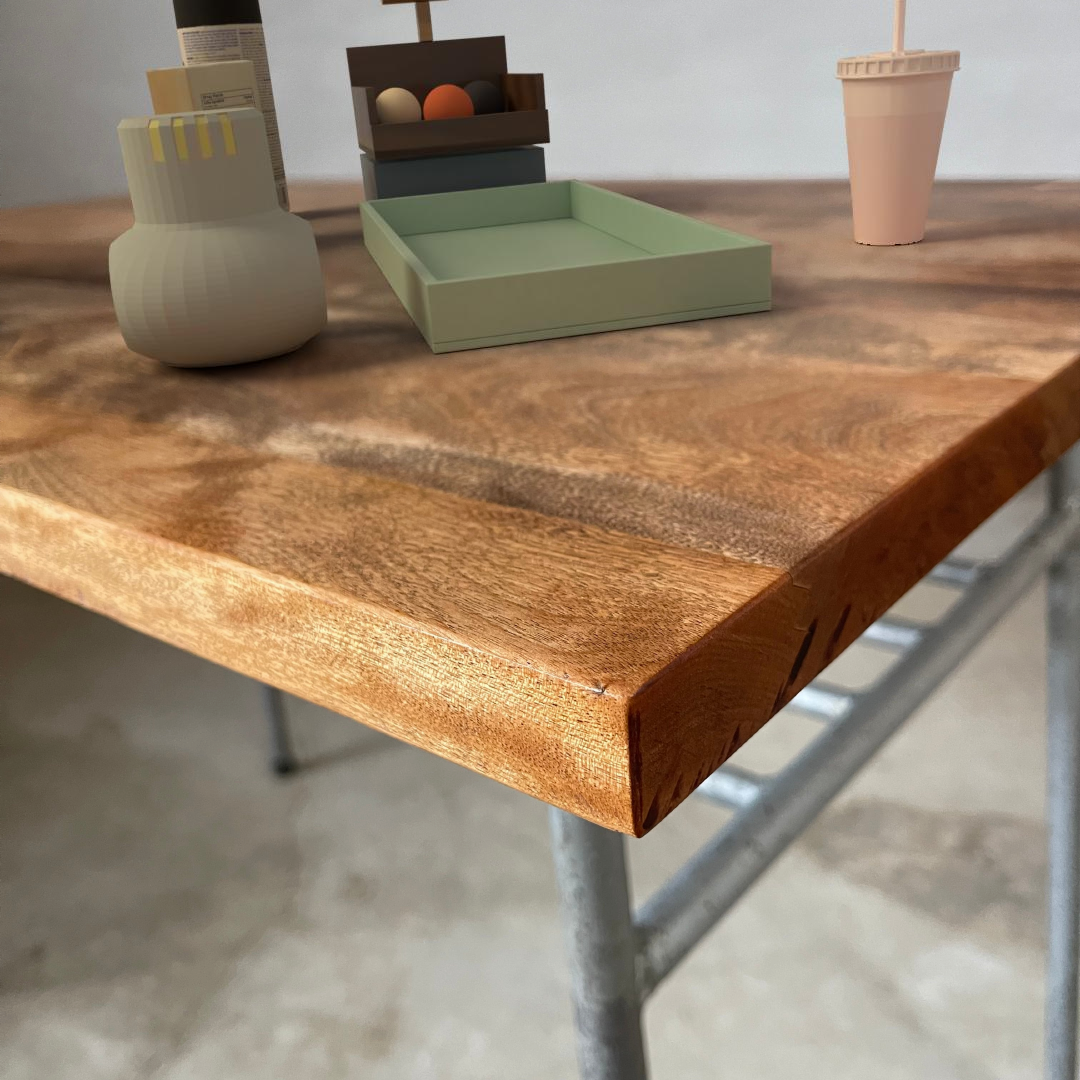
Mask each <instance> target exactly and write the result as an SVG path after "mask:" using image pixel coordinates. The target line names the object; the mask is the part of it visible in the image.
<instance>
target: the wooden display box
mask: <svg viewBox="0 0 1080 1080" xmlns="http://www.w3.org/2000/svg"><path fill="white" fill-rule="evenodd" d="M445 1H448V0H380V2H381V5H382V6H388V5H405V4H414V10H415V19H416V20H415V21H416V29H417V37H418V41H415V42H413V41H412V42H402V43H390V44H375V45H363V46H362V45H361V46H350V47H345V54H346V60H347V61H346V62H347V67H348V68H347V70H348V75H349V76H348V77H349V83H350V91H351V97H352V98H351V99H352V107H353V115H354V121H355V129H356V136H357V144H358V149H360V151H362V152H363V153H367V154H368V155H369V156H371V157H372V158H374V159H375V160H380V159H391V158H401V157H411V156H421V155H432V154H442V153H452V152H463V151H473V150H483V149H494V148H504V147H514V146H524V145H544V144H551V135H550V133H551V132H550V120H549V119H550V118H549V117H550V116H549V109H547V106H546V105H547V104H546V103H547V102H546V89H545V74H544V73H543V72H517V73H516V72H509V71H508V70H509V69H508V59H507V58H508V57H507V46H506V45H507V43H506V35H503V34H502V35H491V36H490V35H489V36H478V37H464V38H451V39H437V40H434V33H433V23H432V13H431V6H430V3H433V2H445ZM474 81H487V82H490V83H492V84H493V85H495V86H496V87H497V88H498V89H499V90H500V92H501V94H502V96H503V98H504V103H505V110H504V113H497V114H486V115H475V116H464V117H453V118H442V119H431V120H425V118H424V111H423V110H424V103H425V100H426V98H427V96H428V95H429V94H430V92H431V91H433V90H434V89H435V88H437V87H439V86H442V85H454V86H457V87H459V88H461V89H462V90H463V89H464V87H466V86H467V85H468V84H470V83H472V82H474ZM391 88H401V89H405V90H407V91H409V92H410V93H411V94H413V95H414V96H415V98H416V99H417V101H418V102H419V105H420V108H421V120H420V121H409V122H398V123H387V124H379V122H378V114H377V106H376V99H377V98H378V96H379V95H380V94H381V93H382V92H384V91H385V90H388V89H391Z"/></svg>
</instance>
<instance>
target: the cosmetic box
mask: <svg viewBox="0 0 1080 1080" xmlns="http://www.w3.org/2000/svg"><path fill="white" fill-rule="evenodd" d="M145 75H146V80H147V84H148V89H149V93H150V98H151V102H152V108H153V112H154V115H161V114H171V113H182V112H193V111H206V110H218V109H233V108H256V109H257V110H258V111H259V112H261V113H262V108H261V103H260V97H259V92H258V86H257V81H256V75H255V69H254V64H253V61H249V60H241V61H228V62H215V63H205V64H195V65H186V66H183V65H179V66H171V67H162V68H154V69H149V70H146V71H145Z"/></svg>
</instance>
